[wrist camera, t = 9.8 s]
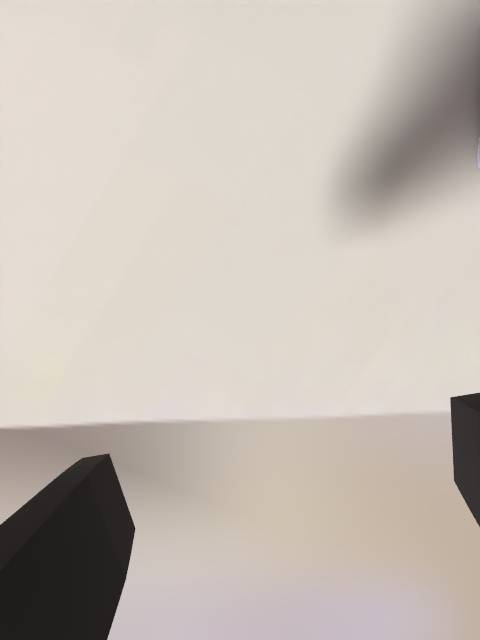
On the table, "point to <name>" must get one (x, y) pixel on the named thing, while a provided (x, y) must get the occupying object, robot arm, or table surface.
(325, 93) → the table surface
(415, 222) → the table surface
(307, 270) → the table surface
